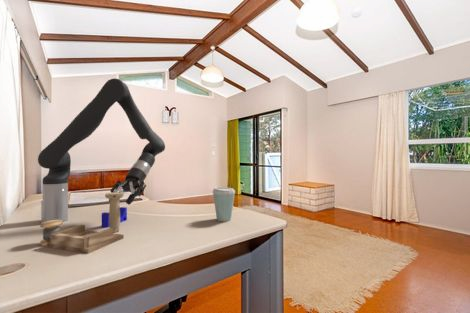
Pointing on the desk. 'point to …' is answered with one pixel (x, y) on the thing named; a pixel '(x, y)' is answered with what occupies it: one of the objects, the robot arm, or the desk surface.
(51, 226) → the bobbin
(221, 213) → the disposable coffee cup
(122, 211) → the cable clip
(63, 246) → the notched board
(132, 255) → the desk surface
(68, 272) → the desk surface
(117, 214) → the handle
